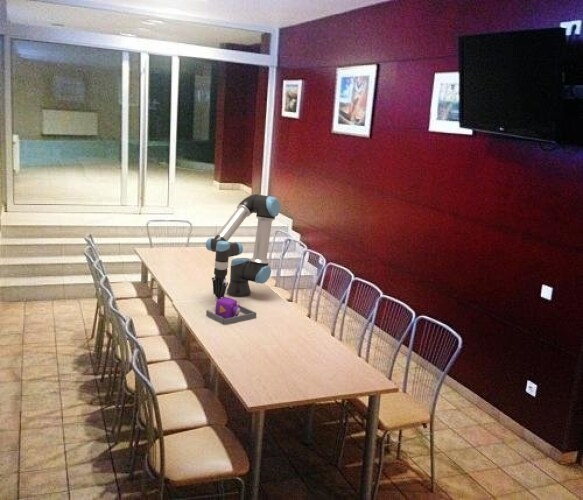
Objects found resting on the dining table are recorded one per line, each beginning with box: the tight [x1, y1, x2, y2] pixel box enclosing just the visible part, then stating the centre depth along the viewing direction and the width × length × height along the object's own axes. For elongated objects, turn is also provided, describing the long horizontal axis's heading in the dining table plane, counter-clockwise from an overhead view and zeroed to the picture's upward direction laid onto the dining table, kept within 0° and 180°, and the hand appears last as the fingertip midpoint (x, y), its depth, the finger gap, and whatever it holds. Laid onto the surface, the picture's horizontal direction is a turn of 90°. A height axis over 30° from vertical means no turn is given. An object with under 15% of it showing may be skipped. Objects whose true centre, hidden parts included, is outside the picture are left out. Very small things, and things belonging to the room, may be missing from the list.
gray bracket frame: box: [205, 303, 257, 326], centre depth 336 cm, size 22×18×4 cm
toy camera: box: [214, 295, 241, 319], centre depth 336 cm, size 11×14×10 cm
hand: (217, 307), depth 343 cm, fingers closed
